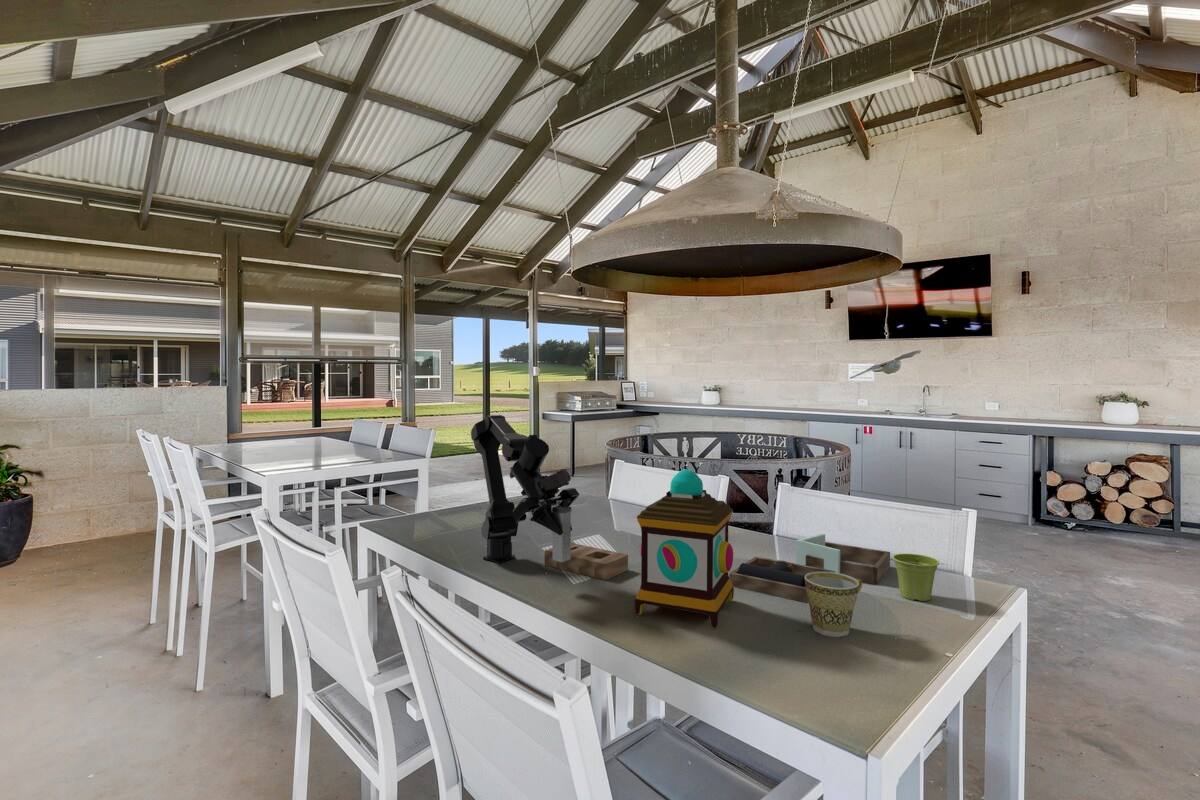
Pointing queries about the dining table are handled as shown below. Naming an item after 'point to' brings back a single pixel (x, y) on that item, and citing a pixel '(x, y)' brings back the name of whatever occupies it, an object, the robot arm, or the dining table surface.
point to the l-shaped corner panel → (817, 552)
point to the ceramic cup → (831, 601)
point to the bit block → (590, 562)
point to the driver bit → (562, 541)
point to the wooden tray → (773, 586)
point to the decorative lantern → (686, 550)
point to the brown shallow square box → (860, 556)
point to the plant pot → (915, 575)
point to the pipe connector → (774, 572)
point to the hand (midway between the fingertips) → (566, 532)
